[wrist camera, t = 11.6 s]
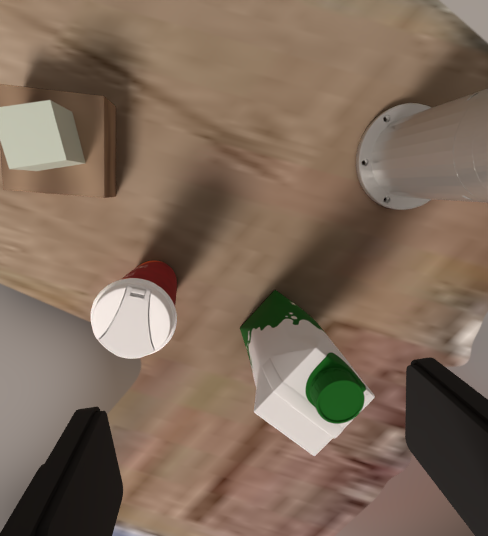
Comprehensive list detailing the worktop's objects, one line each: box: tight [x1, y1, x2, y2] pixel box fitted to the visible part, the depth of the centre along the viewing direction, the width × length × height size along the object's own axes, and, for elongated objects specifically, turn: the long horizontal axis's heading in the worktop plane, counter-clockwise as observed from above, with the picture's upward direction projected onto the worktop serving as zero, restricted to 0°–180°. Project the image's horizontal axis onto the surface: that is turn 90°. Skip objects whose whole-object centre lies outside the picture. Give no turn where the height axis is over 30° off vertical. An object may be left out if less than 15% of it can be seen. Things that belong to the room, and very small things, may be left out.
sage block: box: [0, 100, 86, 171], centre depth 32 cm, size 5×5×5 cm
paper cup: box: [91, 261, 177, 359], centre depth 37 cm, size 8×8×14 cm
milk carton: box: [240, 290, 374, 456], centre depth 37 cm, size 9×9×20 cm
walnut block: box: [0, 84, 116, 198], centre depth 37 cm, size 10×10×5 cm
